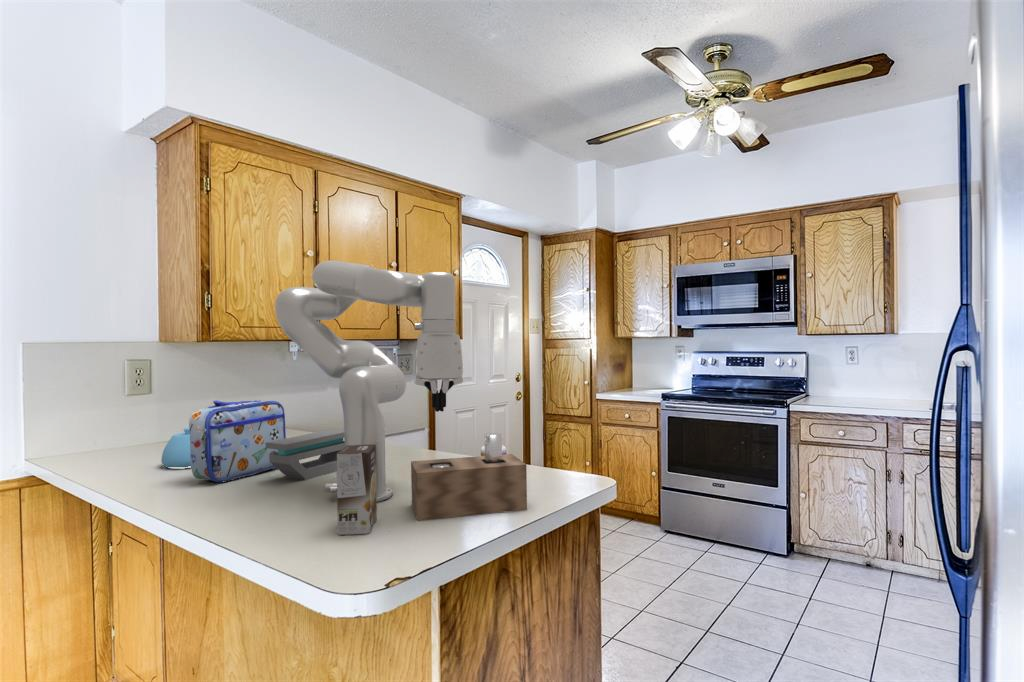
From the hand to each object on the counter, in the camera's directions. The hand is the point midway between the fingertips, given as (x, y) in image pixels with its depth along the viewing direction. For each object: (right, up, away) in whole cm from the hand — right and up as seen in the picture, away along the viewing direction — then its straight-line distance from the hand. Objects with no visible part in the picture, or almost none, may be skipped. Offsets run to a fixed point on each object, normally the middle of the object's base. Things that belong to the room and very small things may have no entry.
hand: (438, 410), depth 125 cm
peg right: (+12, -15, +3) cm, 19 cm away
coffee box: (-15, -23, -11) cm, 29 cm away
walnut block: (+6, -22, +2) cm, 23 cm away
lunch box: (-61, -23, +35) cm, 75 cm away
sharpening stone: (-41, -23, +36) cm, 59 cm away
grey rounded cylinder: (+1, -21, 0) cm, 21 cm away
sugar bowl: (-84, -24, +51) cm, 101 cm away
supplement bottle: (+12, -22, +20) cm, 32 cm away
